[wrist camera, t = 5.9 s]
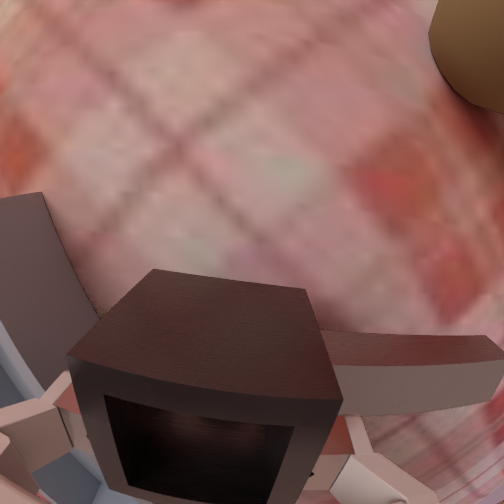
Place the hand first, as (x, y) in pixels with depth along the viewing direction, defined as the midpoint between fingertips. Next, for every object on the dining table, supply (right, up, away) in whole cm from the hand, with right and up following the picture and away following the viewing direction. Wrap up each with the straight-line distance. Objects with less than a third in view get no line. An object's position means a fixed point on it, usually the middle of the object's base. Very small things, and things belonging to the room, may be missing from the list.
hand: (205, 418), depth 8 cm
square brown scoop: (+5, 0, +4) cm, 6 cm away
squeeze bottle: (+13, +15, +3) cm, 20 cm away
